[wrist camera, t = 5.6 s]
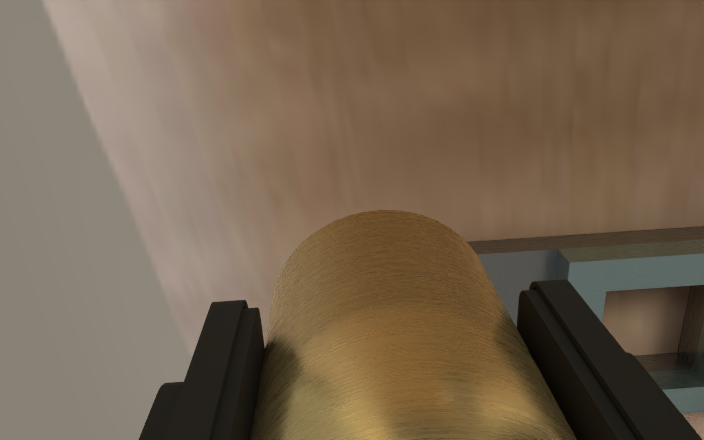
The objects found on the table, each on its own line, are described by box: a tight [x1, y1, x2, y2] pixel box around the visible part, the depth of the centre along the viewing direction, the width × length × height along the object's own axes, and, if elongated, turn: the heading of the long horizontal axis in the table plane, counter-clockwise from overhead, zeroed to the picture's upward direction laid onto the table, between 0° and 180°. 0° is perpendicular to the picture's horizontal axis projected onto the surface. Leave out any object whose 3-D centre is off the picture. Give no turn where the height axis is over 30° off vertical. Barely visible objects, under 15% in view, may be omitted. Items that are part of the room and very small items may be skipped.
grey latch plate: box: [467, 226, 704, 372], centre depth 31 cm, size 10×18×2 cm, turn 93°
